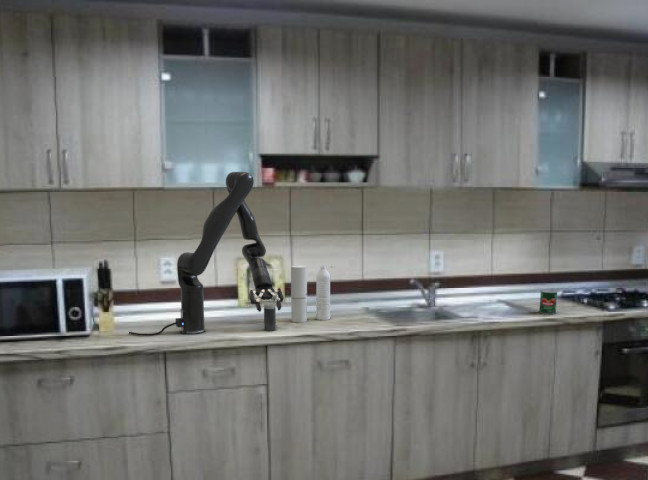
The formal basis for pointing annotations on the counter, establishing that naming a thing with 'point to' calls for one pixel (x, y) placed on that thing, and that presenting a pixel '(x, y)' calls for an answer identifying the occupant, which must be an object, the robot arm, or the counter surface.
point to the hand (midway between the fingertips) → (270, 310)
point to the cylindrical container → (298, 293)
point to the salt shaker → (269, 317)
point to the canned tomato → (548, 302)
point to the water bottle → (323, 294)
